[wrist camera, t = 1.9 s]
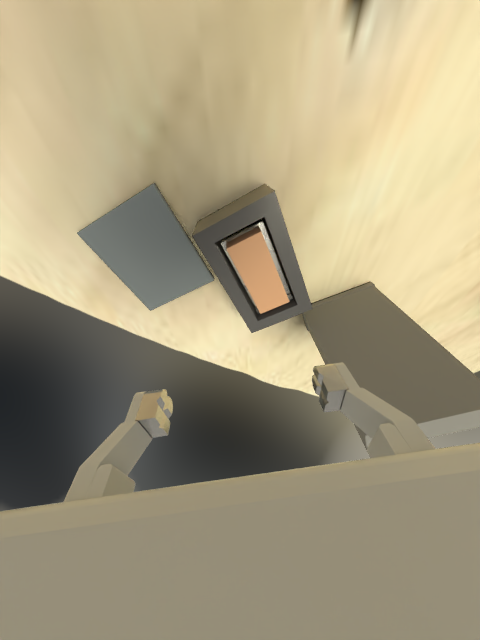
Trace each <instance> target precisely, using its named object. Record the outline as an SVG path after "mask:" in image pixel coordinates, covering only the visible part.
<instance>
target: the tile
mask: <svg viewBox="0 0 480 640" xmlns="http://www.w3.org/2000/svg"><path fill="white" fill-rule="evenodd" d="M226 250H227V252H228V253H229V255H230V257H231V259H232V261H233V263H234V265H235V267H236V269H237V270H238V272H239V274H240V276H241V278H242V280H243V282H244V284H245V285H246V287H247V289H248V291H249V293H250V295H251V297H252V299H253V300H254V302H255V304H256V306H257V308H258V310H259V312H260V314H262V313H264V312H266V311H269V310H271V309H274V308H276V307H278V306H281V305H283V304H286V303H288V302H289V299H288V297H287V294H286V292H285V289H284V287H283V284H282V282H281V279H280V277H279V274H278V272H277V269H276V267H275V264H274V262H273V259H272V257H271V254H270V252H269V249H268V247H267V244H266V242H265V239H264V237H263V234H262V232H261V230H260V227H259V226H258V227H256V228H254V229H252V230H250V231H248V232H246V233H244V234H242V235H240V236H239V237H237V238H235V239H233V240H231V241H229V242H227V243H226Z"/></svg>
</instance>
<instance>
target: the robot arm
mask: <svg viewBox="0 0 480 640" xmlns="http://www.w3.org/2000/svg"><path fill="white" fill-rule="evenodd" d="M313 372H314V375H313V376H312V383H313V387H314V390H315V393H316V394H317V395H319V396H320V397H319V402H320V404H321V407H322V409H323V411H324V412H331V411H339V410H340V412H342V413H343V414H344V415H345V416H346V417H347V418H348V419H350V420H351V421H352V422H353V423H354V424H355V425H356V426H357V427H359V428H360V429H361V430H362V431H363V432H364V433H365V434H366V435H368V436H369V437H370V438H371V439H372V441H371V442H370V444H369V446H368V448H367V452H368V454H369V456H370V459H362V460H356V461H348V462H341V463H334V464H327V465H320V466H313V467H307V468H299V469H293V470H285V471H278V472H272V473H264V474H257V475H251V476H243V477H236V478H229V479H222V480H216V481H208V482H202V483H194V484H188V485H181V486H174V487H167V488H160V489H153V490H147V491H139V492H133V491H134V487H135V482H134V481H133V480H132V479H130V478H129V477H128V476H127V475H128V474H129V473H130V471H131V470H132V468H133V467H134V465H135V464H136V462H137V461H138V459H139V458H140V456H141V455H142V453H143V452H144V450H145V449H146V447H147V446H148V445H149V443H150V442H151V440H152V438H154V437H160V436H166V435H168V432H169V426H170V421H169V420H168V419H169V417H170V416H171V415H172V410H173V405H172V400H171V398H170V397H168V396H167V391H166V390H165V389H163V390H155V391H147V392H140V393H136V394H135V395H134V397H133V400H132V403H131V406H130V408H129V411H128V414H127V417H126V419H125V422H124V423H121V424H120V425H119V426H118V428H117V429H115V431H114V432H113V433H112V434H111V435H110V436H109V437H108V438H107V439H106V440H105V441H104V442H103V443H102V444H101V445H100V446H99V447H98V449H96V450H95V452H94V453H93V454H92V455H91V456H90V457H89V458H88V459H87V460H86V461H85V462H84V463H83V464H82V465H81V466H80V467H79V470H78V472H77V474H76V476H75V479H74V480H73V483H72V485H71V487H70V489H69V491H68V493H67V496H66V498H65V500H64V502H62V503H56V504H48V505H41V506H34V507H28V508H21V509H15V510H7V511H0V640H480V443H474V444H467V445H460V446H453V447H447V448H439V449H435V447H434V446H433V445H432V443H431V442H430V441H429V440H428V438H427V437H426V436H425V434H424V433H423V432H422V430H421V429H420V428H419V426H418V425H417V424H416V422H415V421H414V420H413V419H412V418H411V417H409V416H407V415H406V414H404V413H403V412H401V411H399V410H398V409H396V408H395V407H393V406H391V405H390V404H388V403H387V402H385V401H383V400H382V399H380V398H379V397H377V396H376V395H374V394H372V393H371V392H369V391H368V390H366V389H364V388H360V387H359V386H358V384H357V382H356V381H355V379H354V378H353V376H352V375H351V373H350V371H349V370H348V368H347V367H346V365H345V364H344V363H343V362H341V363H334V364H326V365H320V366H315V367H314V368H313Z"/></svg>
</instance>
